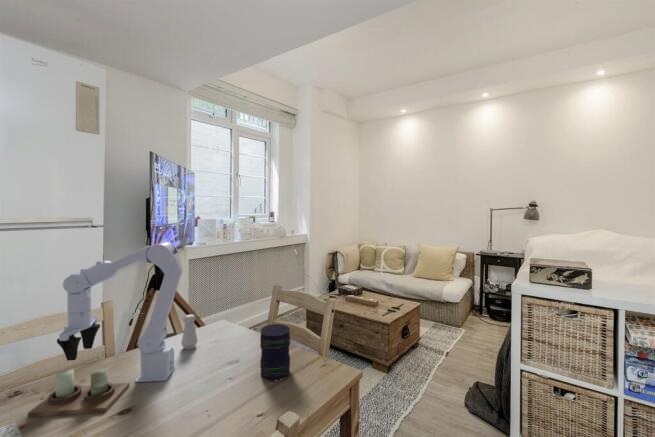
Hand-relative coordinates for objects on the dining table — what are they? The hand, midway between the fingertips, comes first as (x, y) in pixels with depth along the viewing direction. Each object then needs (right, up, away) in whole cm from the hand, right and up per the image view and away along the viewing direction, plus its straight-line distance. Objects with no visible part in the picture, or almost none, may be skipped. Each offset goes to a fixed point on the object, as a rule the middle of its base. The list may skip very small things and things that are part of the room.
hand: (80, 353), depth 95 cm
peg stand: (+8, -10, -8) cm, 15 cm away
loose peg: (+3, -8, -9) cm, 13 cm away
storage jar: (+60, -10, +7) cm, 61 cm away
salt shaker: (+23, -9, +26) cm, 35 cm away
